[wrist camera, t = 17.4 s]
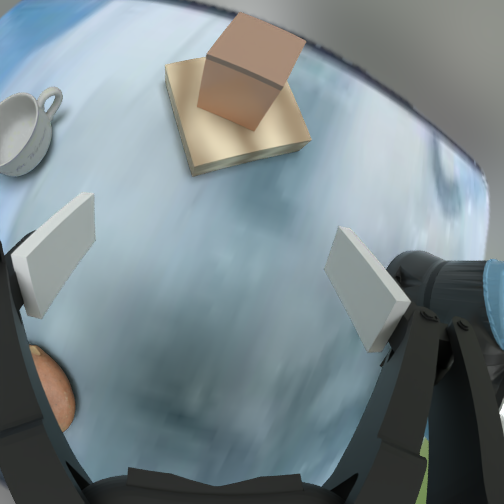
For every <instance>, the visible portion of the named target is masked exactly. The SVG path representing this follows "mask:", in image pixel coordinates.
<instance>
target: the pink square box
mask: <svg viewBox="0 0 504 504" xmlns="http://www.w3.org/2000/svg"><path fill="white" fill-rule="evenodd" d="M305 43H306V41H305V40H303V39H301V38H299V37H297V36H295V35H293V34H291V33H289V32H287V31H285V30H282V29H280V28H278V27H276V26H273V25H271V24H269V23H267V22H264V21H262V20H259V19H257V18H254V17H252V16H249V15H247V14H244V13H241V12H239V14H238V15H237V16H236V17H235V18H234V20H233V21H232V22H231V23H230V24H229V26H228V27H227V28H226V29H225V31H224V32H223V33H222V34H221V36H220V37H219V38H218V39H217V41H216V42H215V43H214V45H213V46H212V47H211V49H210V50H209V51H208V53H207V55H206V60H205V65H204V70H203V75H202V80H201V86H200V91H199V97H198V103H197V107H199V108H201V109H204V110H206V111H208V112H211V113H213V114H216V115H218V116H220V117H223V118H225V119H227V120H230V121H232V122H234V123H236V124H239V125H241V126H243V127H245V128H247V129H250V130H252V131H255V130H256V128H257V127H258V125H259V123H260V122H261V120H262V119H263V117H264V116H265V114H266V113H267V111H268V110H269V108H270V107H271V105H272V104H273V102H274V100H275V99H276V97H277V96H278V94H279V93H280V92H281V90H282V89H283V87H284V85H285V83H286V81H287V79H288V77H289V75H290V73H291V71H292V69H293V67H294V65H295V63H296V61H297V59H298V57H299V55H300V53H301V51H302V49H303V47H304V45H305Z"/></svg>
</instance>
